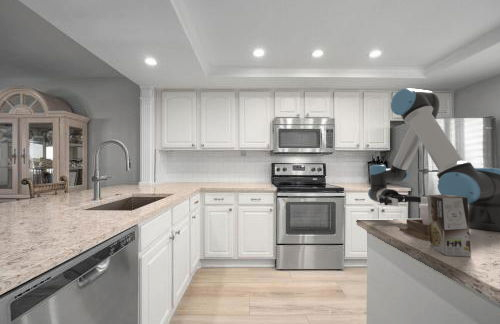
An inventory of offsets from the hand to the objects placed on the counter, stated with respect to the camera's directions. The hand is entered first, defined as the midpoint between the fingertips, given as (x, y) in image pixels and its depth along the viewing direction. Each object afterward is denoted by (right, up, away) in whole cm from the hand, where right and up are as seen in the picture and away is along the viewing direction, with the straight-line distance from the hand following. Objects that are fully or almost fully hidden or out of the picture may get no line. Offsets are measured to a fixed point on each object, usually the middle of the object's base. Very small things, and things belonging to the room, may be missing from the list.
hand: (414, 202), depth 102 cm
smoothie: (0, -9, -10) cm, 13 cm away
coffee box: (-8, -10, -28) cm, 31 cm away
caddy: (0, -10, -10) cm, 14 cm away
